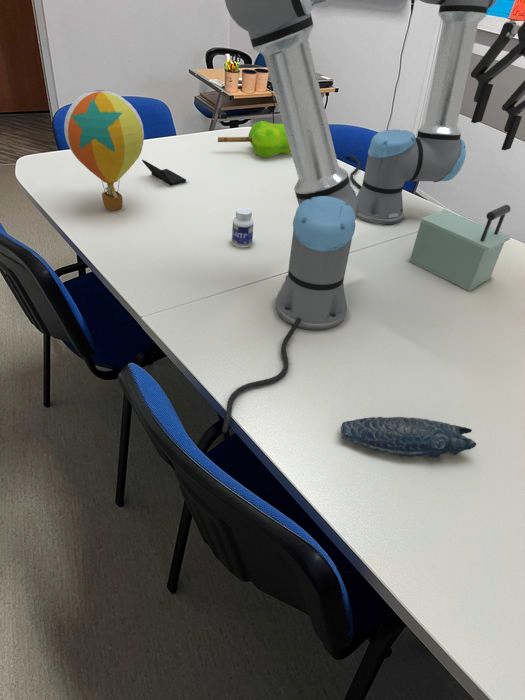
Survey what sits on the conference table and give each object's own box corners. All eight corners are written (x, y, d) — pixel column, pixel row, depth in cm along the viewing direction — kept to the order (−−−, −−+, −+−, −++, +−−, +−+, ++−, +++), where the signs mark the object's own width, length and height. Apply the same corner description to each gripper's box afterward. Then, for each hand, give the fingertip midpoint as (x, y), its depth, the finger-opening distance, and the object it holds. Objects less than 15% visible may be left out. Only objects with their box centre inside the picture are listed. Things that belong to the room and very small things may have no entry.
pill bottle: (228, 244, 133) (229, 212, 128) (236, 236, 137) (237, 204, 132) (247, 249, 132) (249, 216, 126) (255, 241, 136) (257, 209, 130)
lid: (509, 239, 123) (522, 208, 118) (488, 251, 117) (501, 218, 112) (443, 212, 133) (452, 181, 128) (420, 221, 127) (429, 190, 122)
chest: (489, 278, 130) (506, 238, 123) (469, 291, 124) (484, 249, 118) (431, 250, 140) (443, 212, 133) (409, 261, 134) (420, 221, 127)
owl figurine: (474, 470, 81) (484, 449, 78) (339, 453, 82) (344, 431, 79) (465, 439, 86) (475, 417, 83) (339, 423, 87) (344, 401, 84)
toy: (64, 203, 145) (44, 85, 127) (127, 189, 156) (117, 79, 137) (97, 229, 134) (80, 105, 116) (162, 213, 145) (156, 96, 126)
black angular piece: (190, 175, 164) (173, 153, 156) (179, 193, 163) (161, 172, 155) (166, 170, 170) (147, 148, 162) (155, 188, 169) (136, 167, 161)
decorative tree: (215, 117, 188) (295, 117, 193) (215, 147, 195) (292, 146, 200) (221, 131, 174) (307, 131, 180) (221, 163, 181) (304, 161, 186)
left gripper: (650, 3, 78) (585, 147, 91) (498, -16, 92) (460, 112, 105) (633, 3, 74) (567, 154, 87) (476, -17, 87) (440, 116, 101)
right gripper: (665, 52, 89) (605, 174, 102) (527, 28, 103) (490, 139, 116) (651, 54, 85) (590, 181, 98) (509, 29, 99) (473, 144, 112)
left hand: (509, 131), depth 96 cm, fingers open, 13 cm apart
